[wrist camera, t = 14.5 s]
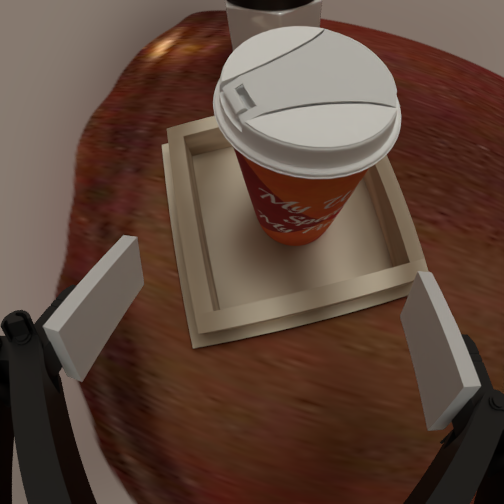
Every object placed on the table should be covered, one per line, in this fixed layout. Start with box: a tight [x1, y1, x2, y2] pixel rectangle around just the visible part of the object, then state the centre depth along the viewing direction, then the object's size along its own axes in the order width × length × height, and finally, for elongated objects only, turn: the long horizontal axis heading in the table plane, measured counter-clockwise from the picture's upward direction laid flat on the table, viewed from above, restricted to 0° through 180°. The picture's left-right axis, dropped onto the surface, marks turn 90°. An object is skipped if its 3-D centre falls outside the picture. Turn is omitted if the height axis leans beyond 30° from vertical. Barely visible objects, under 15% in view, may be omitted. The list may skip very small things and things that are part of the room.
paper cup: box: [213, 26, 401, 246], centre depth 17 cm, size 8×8×14 cm
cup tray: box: [162, 116, 428, 348], centre depth 23 cm, size 18×17×4 cm
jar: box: [225, 0, 322, 51], centre depth 24 cm, size 9×8×12 cm
